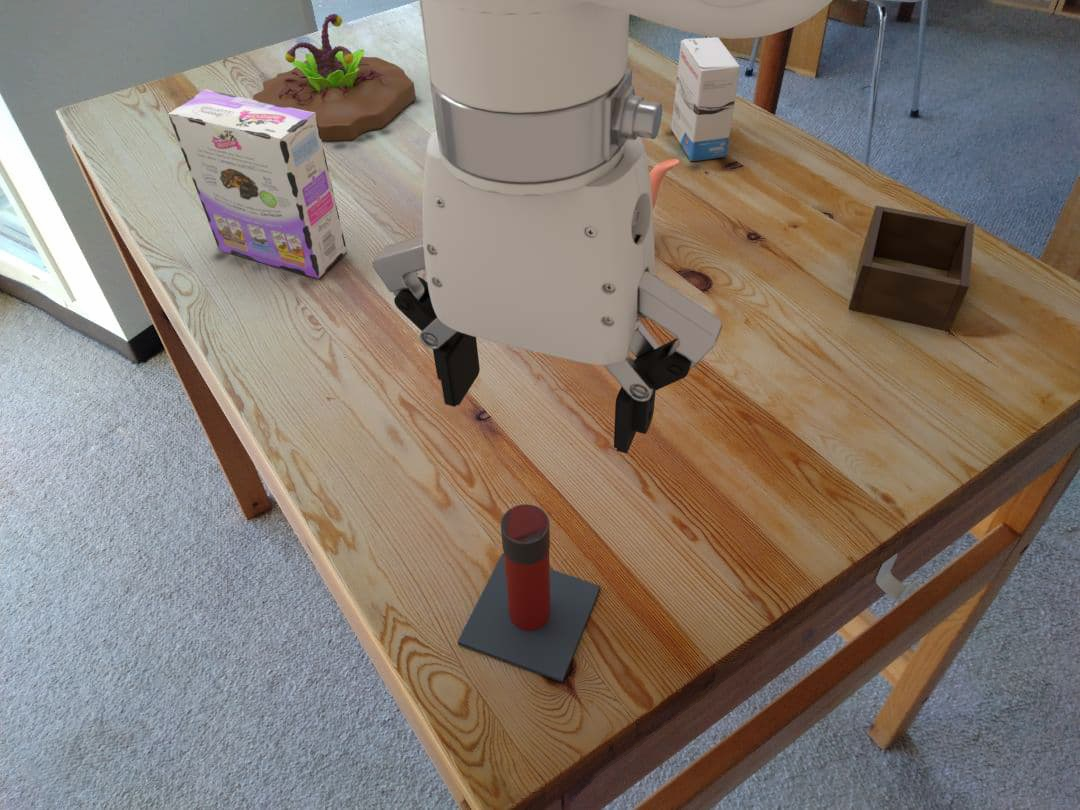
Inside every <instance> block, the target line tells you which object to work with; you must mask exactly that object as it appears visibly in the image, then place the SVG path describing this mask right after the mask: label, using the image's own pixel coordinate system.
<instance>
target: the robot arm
mask: <svg viewBox="0 0 1080 810" xmlns="http://www.w3.org/2000/svg"><path fill="white" fill-rule="evenodd" d="M418 1H419V9H420V16H421V24H422V31H423V38H424V39H423V40H424V45H425V52H426V61H427V66H428V69H427V70H428V74H429V83H430V90H431V98H432V106H433V114H434V120H435V121H434V123H435V127H436V128H435V129H434V131H433V132H432V133H431V134H430V135H429V138H428V139H427V144H426V151H425V159H424V170H423V180H422V211H421V221H422V234H421V235H418V236H414V237H411V238H408V239H405V240H404V239H403V240H401V241H398V242H394V243H391V244H388V245H385V246H384V248H383V249H382V250H381V251H380V252H379V253H378V255H377V256H376V257H375V258H374V259H373V261H372V267H373V270H374V271H375V272H376V274H377V276H378V277H379V279H381V281H382V283H383V284H384V285H385V287H386V288H387V290H388V292H389V293H392V294H393V295H394V296H395V297H394V299H393V301H394V305H395V306H396V308H397V309H398V310H399V311H400V312H401V313H402V314H403V315H404V316H405V317H406V318H407V319H408V320H409V321H411V323H413V324H414V325H415V326H416V327H417V328H418V329H419V330H420V331H421V332H420V333H419V340H420V341H421V343H422V344H423V345H424V346H425V347H426V348H429V349H430V350H431V349H432V353H433V359H434V365H435V371H436V377H437V379H438V380H439V381H440V383H441V390H442V396H443V401H444V404H445V405H446V406H449V407H453V408H454V407H457V406H460V405H461V403H462V401H463V400H464V398H465V397H466V395H467V393H468V392H469V390H470V389H471V388H472V386H473V384H474V382H475V381H476V380H477V378H478V376H479V375H480V370H481V368H480V367H481V366H480V359H479V349H478V342H477V338H478V339H483V340H486V341H489V342H493V343H497V344H502V345H506V346H509V347H514V348H517V349H522V350H525V351H529V352H535V353H538V354H541V355H546V356H551V357H555V358H559V359H564V360H568V361H572V362H577V363H582V364H588V365H594V366H604V367H605V369H606V370H607V371H608V372H609V373H610V375H611V376H612V377H613V378H614V379H615V381H617V383H618V384H619V386H620V389H619V391H618V393H617V395H616V398H615V407H614V427H613V428H614V429H613V430H614V431H613V448H614V449H616V452H619V453H623V454H626V455H627V454H628V452H629V450H630V447H631V445H632V443H633V441H634V438H635V436H636V434H637V433H640V434H643V435H647V433H648V431H649V429H650V426H651V423H652V420H653V415H654V412H655V411H654V410H655V401H656V391H658V390H661V389H663V388H665V387H667V386H669V385H671V384H674V383H676V382H679V381H681V380H682V379H684V378H686V377H687V376H688V375H689V372H690V370H691V369H693V367H694V366H695V365H698V364H699V362H700V361H701V360H703V359H704V358H705V357H706V355H707V354H708V353H710V351H711V350H712V349H714V347H715V346H716V344H717V342H718V340H719V337H720V333H721V331H722V329H723V323H722V321H721V319H719V318H718V317H717V316H716V315H714V314H713V313H711V312H710V311H708V310H707V309H705V308H703V306H700V305H699V304H698V303H696V302H694V301H693V300H691V299H690V298H688V297H687V296H685V295H684V294H682V293H681V292H680V291H678V290H676V289H675V288H673V287H672V286H671V285H668V284H667V283H666V282H665V281H663V280H661V279H659V278H658V277H657V276H655V275H656V274H655V270H656V268H655V265H656V261H655V260H656V258H655V257H656V256H655V254H656V251H655V222H654V208H653V204H652V192H651V183H650V175H649V174H650V169H649V163H648V159H647V152H646V148H645V143H644V141H643V138H644V139H650V140H655V139H656V138H657V137H658V134H659V132H660V127H661V125H662V117H663V105H662V103H661V102H656V101H647V100H645V98H644V97H643V96H642V95H636V91H635V86H634V85H632V84H633V83H632V82H633V68H630V67H628V57H629V56H628V55H629V32H630V31H629V30H630V15H631V16H634V17H637V18H640V19H643V20H646V21H648V22H652V23H655V24H658V25H661V26H664V27H668V28H672V29H676V30H679V31H682V32H687V33H690V34H691V33H692V34H694V35H695V34H696V35H700V36H703V37H708V38H713V37H717V38H719V39H727V40H738V39H739V40H740V39H754V38H762V37H767V36H771V35H774V34H778V33H782V32H784V31H786V30H789V29H792V28H794V27H797V26H799V25H801V24H803V23H804V22H806V21H808V20H809V19H811V18H812V17H814V16H815V15H816V14H819V12H820V11H822V10H823V9H824V8H826V7H827V6H829V5H830V4H831V3H832V2H833V1H834V0H418ZM423 270H425V275H426V276H425V277H426V280H425V279H424V278H422V277H420V276H418V275H419V273H418V272H420V271H423ZM639 318H642V319H649V320H651V321H652V322H653V323H655V324H656V325H658V326H660V327H661V328H662V329H664V330H666V331H667V332H669V333H670V334H672V335H673V336H675V338H674V339H672V340H670V341H669V342H666V343H664V344H661V345H660V344H659V343H658V341H656V339H655V338H654V336H653V335H652V334H651V333H650V331H649V330H648V329H647V327H646V326H645V325H644V324H643V323H642V321H640V319H639ZM629 351H630V352H631V354H632V355H633V356H634V357H635V358H633V357H632V356H631V354H630V353H629Z"/></svg>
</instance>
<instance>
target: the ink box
mask: <svg viewBox="0 0 1080 810" xmlns="http://www.w3.org/2000/svg"><path fill="white" fill-rule="evenodd" d="M677 66H678V67H677V75H676V84H675V93H674V101H673V109H672V118H671V119H672V120H671V128H670V129H671V131H672V133H673V135H674V137H675V138H676V140H677V141H678V143H679V145H680V146H681V149H683V152H684V153H685V155H686V156H687V158H688V159H689V161H690V162H696V161H705V160H713V159H720V158H726V157H727V155H728V148H729V142H730V135H731V128H732V122H733V115H734V109H735V102H736V96H737V90H738V84H739V77H740V72H741V71H740V70H741V65H740V64H739V63H738V62H737V59H735V58H734V57H733V55H732V54H731V53H730V51H729V50H728V49H727V47H726V46H725V44H724V43H723V42H722V40H721V38H717V37H698V38H697V37H696V38H684V39H682V40H680V46H679V55H678V65H677Z"/></svg>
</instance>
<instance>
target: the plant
mask: <svg viewBox="0 0 1080 810" xmlns="http://www.w3.org/2000/svg"><path fill="white" fill-rule="evenodd" d="M329 23H331V25H332V26H334V27H337V28H338V27H340V26H342V24H343V18H342V16H340V15H339V14H337V13H330V14H329V15H328V16H326V17H325V18H324V21H323V24H322V25H321V27H322V30H321V35H320V39H321V46H319V48H318V47H317V46H315V45H313V44H312V43H310V42H302V41H301V42H297V43H296V44H294V46H292V47H291V48H290V49H289V50H288V51H286V53H285V60H286V61H287V62H288V63H290V65H292V66H293V67H294V68H292V69H291V70H288V71H285V72H279V73H277V74H276V76H275V77H272V78H270V79H268V80H265V81H263V82H262V87H263V90H261V91H258V92H257V93H254V94H253V95H252V96H253V97H252V100H256V101H261V102H265V103H270V104H275V105H279V106H284V107H289V108H294V109H299V110H304V111H309V112H315V113H316V118H317V122H318V127H319V131H320V135H321V140H322V141H325V142H334V141H349V142H351V141H353V140H355V139H356V138H357V137H358V136H359V135H361V134H363V133H366V132H370V131H373V130H380V129H382V128H384V127H386V126H387V125H388V124H389V123H390V122H391V121H392V120H393V119H394V118H395V117H397V115H398V114H399V113H401V112H402V111H403V110H404V109H405V108H407V107H408V106H409V105H410V104H411V103H413V102H414V101H415V100H416V98H417V97H416V90H415V89H416V88H415V83H414V81H412V80H411V78H409V76H408V75H407V74H406V72H405V70H404V69H403V68H401V67H400V66H399V65H396V64H395V63H393V62H389V61H387V60H385V59H383V58H380V57H377V56H364V55H365V49H358V50H356V51H354V52H352V51H350V49H349V48H347V47H345V46H341V45H337V46H334V48H332V45H331V43H330V41H331V40H330V39H329V38H330V35H329ZM302 48H304V49H307V50H308V51H309V53H305V54H304V58H305V60H304V61H301V60H296V58H297V56H296V50H297V49H302ZM310 53H311V54H310Z"/></svg>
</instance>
